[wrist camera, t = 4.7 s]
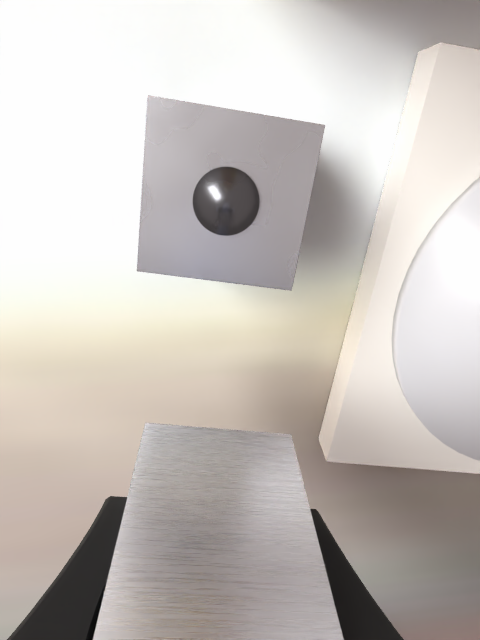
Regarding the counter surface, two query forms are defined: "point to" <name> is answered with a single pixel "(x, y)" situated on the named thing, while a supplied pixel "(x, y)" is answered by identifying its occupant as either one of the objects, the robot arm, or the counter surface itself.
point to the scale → (419, 289)
